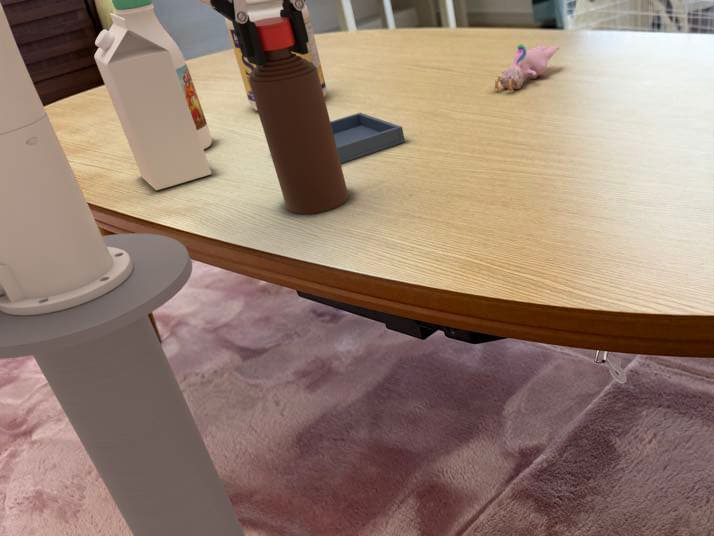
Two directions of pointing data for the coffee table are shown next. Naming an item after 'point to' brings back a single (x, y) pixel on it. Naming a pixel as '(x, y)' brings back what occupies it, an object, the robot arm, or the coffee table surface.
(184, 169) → the milk carton
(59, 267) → the robot arm
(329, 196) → the bottle
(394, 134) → the tray
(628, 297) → the coffee table surface
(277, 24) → the cap
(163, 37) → the milk bottle
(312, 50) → the supplement tub
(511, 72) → the pink elongated figure
